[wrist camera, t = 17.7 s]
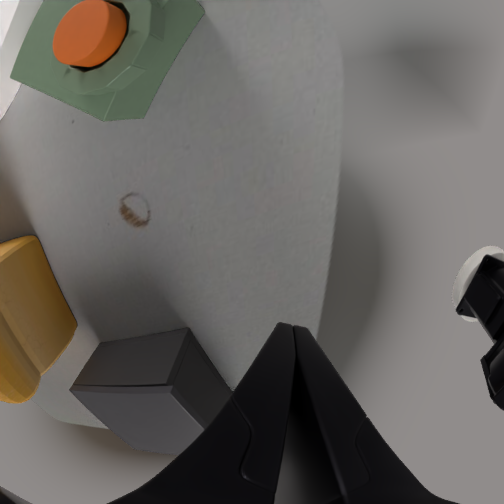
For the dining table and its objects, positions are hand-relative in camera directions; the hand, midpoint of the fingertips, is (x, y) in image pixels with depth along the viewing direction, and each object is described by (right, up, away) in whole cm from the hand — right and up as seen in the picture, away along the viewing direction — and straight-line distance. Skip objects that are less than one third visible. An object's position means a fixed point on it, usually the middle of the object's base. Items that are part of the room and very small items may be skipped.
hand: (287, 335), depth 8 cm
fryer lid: (-11, -14, +15) cm, 23 cm away
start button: (-9, +13, +2) cm, 16 cm away
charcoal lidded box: (-11, -11, +21) cm, 26 cm away
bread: (-34, -2, +20) cm, 39 cm away
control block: (-11, +18, +7) cm, 22 cm away
